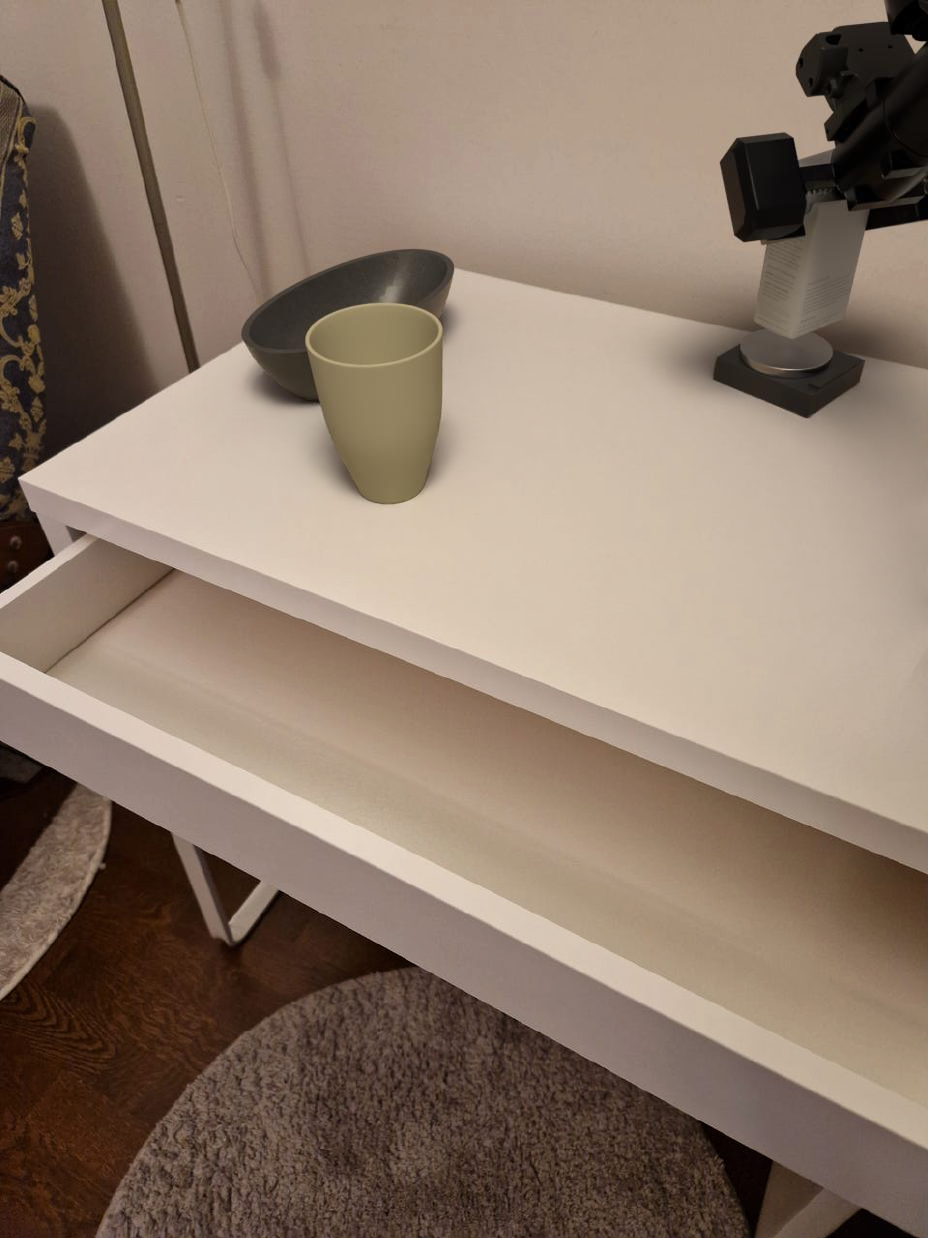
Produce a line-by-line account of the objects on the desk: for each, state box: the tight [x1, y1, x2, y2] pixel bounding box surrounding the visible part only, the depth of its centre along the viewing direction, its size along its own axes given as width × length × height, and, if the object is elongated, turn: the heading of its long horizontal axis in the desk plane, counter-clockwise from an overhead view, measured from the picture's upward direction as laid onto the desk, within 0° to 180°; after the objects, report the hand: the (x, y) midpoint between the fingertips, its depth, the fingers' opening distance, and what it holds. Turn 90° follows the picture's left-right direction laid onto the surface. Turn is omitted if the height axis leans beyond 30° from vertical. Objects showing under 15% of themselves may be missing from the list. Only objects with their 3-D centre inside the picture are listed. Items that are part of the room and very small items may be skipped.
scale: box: [712, 328, 866, 419], centre depth 79 cm, size 9×8×3 cm
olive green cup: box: [305, 303, 444, 505], centre depth 68 cm, size 11×10×12 cm
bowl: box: [240, 248, 455, 402], centre depth 83 cm, size 12×22×6 cm, turn 142°
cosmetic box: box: [753, 148, 870, 339], centre depth 72 cm, size 6×4×12 cm
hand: (806, 232), depth 73 cm, fingers closed on cosmetic box, 7 cm apart
